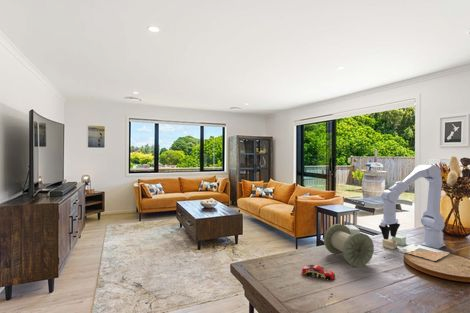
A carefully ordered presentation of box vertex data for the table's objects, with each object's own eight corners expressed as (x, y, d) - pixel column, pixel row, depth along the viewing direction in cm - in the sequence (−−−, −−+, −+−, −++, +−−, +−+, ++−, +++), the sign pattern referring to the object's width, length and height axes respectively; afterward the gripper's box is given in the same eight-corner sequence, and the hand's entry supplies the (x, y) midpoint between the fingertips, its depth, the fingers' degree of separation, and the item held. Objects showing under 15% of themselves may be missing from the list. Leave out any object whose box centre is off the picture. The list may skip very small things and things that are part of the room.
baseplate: (413, 245, 145) (413, 242, 145) (449, 254, 131) (449, 251, 131) (398, 251, 136) (398, 249, 136) (435, 262, 122) (435, 259, 122)
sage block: (396, 241, 151) (396, 234, 151) (406, 244, 147) (405, 236, 147) (391, 243, 149) (391, 236, 149) (401, 245, 145) (401, 238, 144)
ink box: (343, 246, 145) (343, 224, 145) (353, 246, 145) (353, 224, 145) (350, 252, 136) (350, 229, 136) (360, 251, 136) (360, 229, 136)
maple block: (387, 245, 146) (387, 237, 146) (396, 247, 142) (396, 240, 142) (382, 246, 143) (382, 239, 143) (392, 249, 139) (392, 242, 139)
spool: (324, 254, 133) (323, 225, 133) (349, 251, 137) (349, 222, 137) (345, 268, 117) (345, 234, 117) (373, 264, 121) (373, 232, 121)
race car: (335, 276, 110) (335, 267, 110) (334, 282, 105) (334, 272, 105) (303, 270, 116) (303, 261, 116) (301, 275, 111) (301, 266, 111)
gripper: (388, 209, 150) (388, 233, 150) (374, 213, 142) (374, 238, 142) (402, 211, 144) (402, 236, 144) (388, 215, 136) (388, 241, 136)
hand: (389, 237), depth 142 cm, fingers open, 7 cm apart
